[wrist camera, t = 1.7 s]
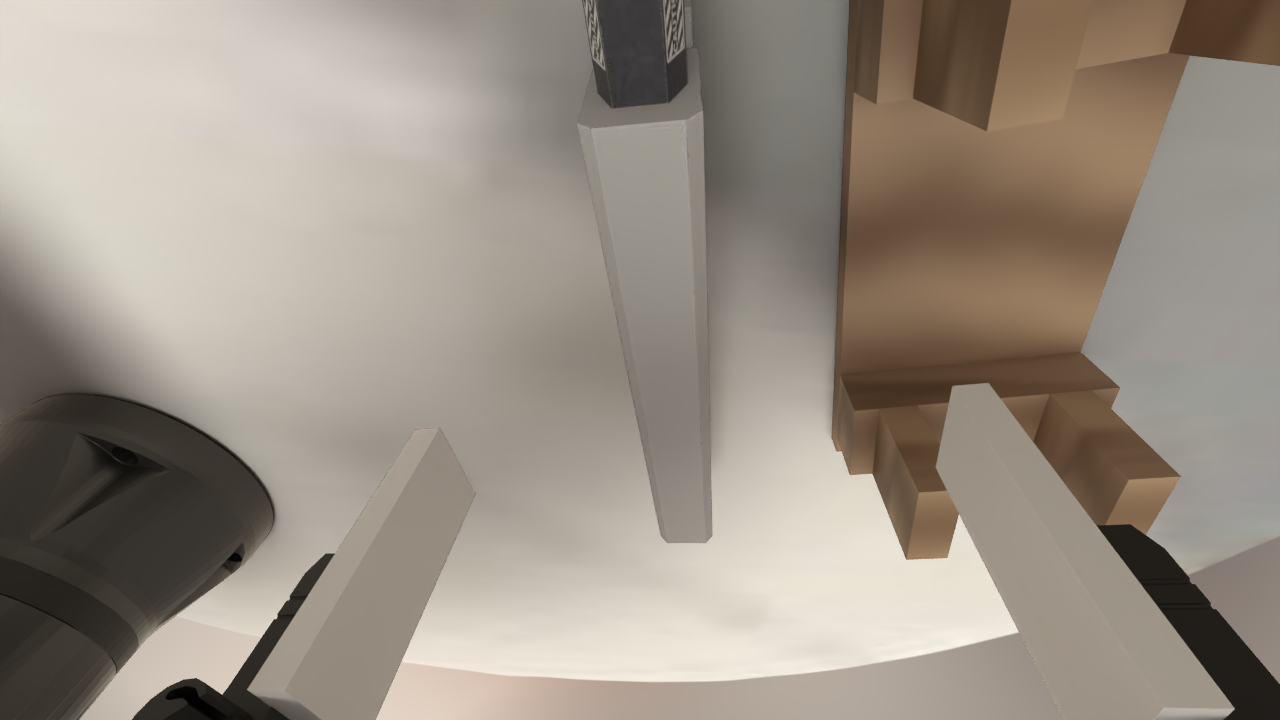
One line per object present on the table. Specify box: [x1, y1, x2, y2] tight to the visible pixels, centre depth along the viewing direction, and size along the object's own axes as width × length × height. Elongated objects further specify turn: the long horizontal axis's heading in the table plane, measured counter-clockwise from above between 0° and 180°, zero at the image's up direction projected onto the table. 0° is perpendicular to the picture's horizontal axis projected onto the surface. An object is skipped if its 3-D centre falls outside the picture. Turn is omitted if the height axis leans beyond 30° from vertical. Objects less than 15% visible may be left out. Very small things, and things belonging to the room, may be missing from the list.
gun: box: [577, 0, 712, 543], centre depth 20 cm, size 2×25×10 cm, turn 6°
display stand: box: [832, 0, 1280, 560], centre depth 17 cm, size 22×10×8 cm, turn 10°
